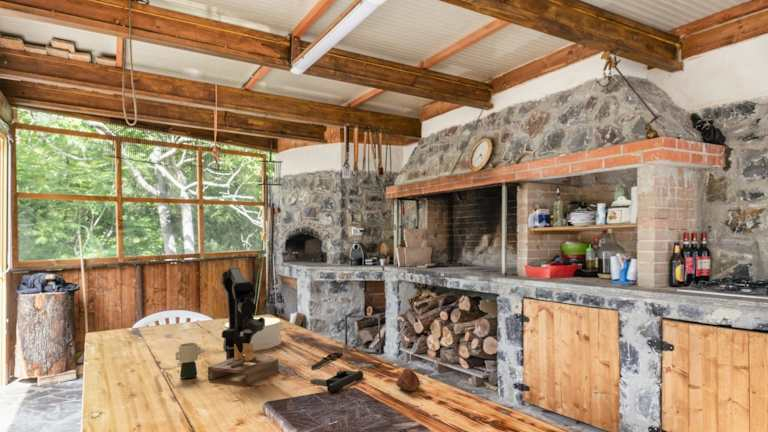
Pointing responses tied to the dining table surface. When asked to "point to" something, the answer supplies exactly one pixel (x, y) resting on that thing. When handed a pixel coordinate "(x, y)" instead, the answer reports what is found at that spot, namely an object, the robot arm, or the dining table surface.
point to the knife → (326, 360)
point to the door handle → (339, 380)
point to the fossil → (408, 380)
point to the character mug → (188, 359)
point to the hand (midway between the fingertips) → (243, 351)
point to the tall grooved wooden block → (246, 349)
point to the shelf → (245, 368)
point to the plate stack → (266, 334)
